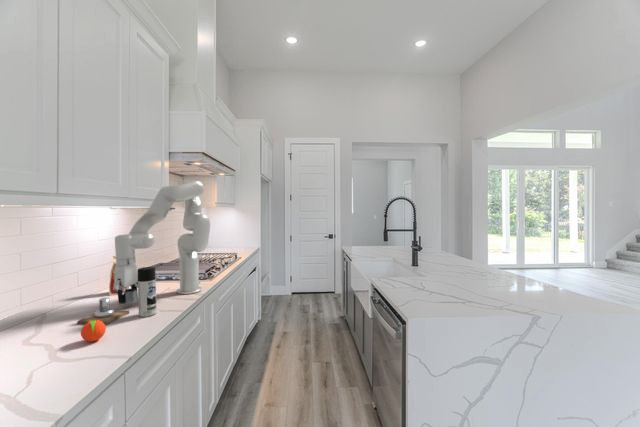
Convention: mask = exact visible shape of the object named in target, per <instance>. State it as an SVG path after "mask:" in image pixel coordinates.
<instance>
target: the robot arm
mask: <svg viewBox="0 0 640 427" xmlns="http://www.w3.org/2000/svg"><path fill="white" fill-rule="evenodd" d="M204 190H205V187H204V184H203V183H202V182H201V181H199V180H185V181H181V182H179V183H178V184H176V185H166V186H163V187H161V188H160V189H159V191H158V192H157V195H156V196H155V198H154V199H153V201H152V202H151V204H150V206H149V208H148V209H147V211H146V212H144V214H142V216H141V217H140V218H138V219H137V221H136V222H135V223H134V224H133V226H132V228H131V230H130V231H129V233H128V234H118V235H116V236H115V238H114V249H115V250H114V252H115V256H116V267H115V275H114V285H115V286H114V287H113V289H114V290H115V292H116V293H117V294H118V295H117V297H118V299H117V302H118V304H119V303H125V302H126V294H124V293H125V289H126V287H129V289H134V288H136V289H137V290H138V266H137V262H136V250H137V249H138V250H139V249H142V250H145V249H149V248H150V247H152V246H153V245H154V244H155V237H154V236H153V235H152V233H148V232H149V230H150V229H151V228H153V226H155V225H156V224H158V223H160V222H162V221H163V220H165V219H166V217H167V215H168V214H169V212H170V209H171V208H172V206H173V204H175V203H182V202H184V213H183V221H182V226H183V229H184V230H186V231H189V232H187V233H183V234H182V235H180V236H179V237H178V239H177V250H178V256H179V257H178V258H179V288H178V289H177V290H176V293H177V294H179V295H190V294H197V293H199V292H201V291H202V290H203V288H202V287H201V286H200V284H202V283H201V282H202V281H201V280H200V278H199V277H200V276H199V269H200V267H199V266H200V265H199V255H198V253H201V252H203V251H205V250H206V248H207V247H208V245H209V238H210V231H211V221H210V218H209V217H208V216H207V215H206V214H204V213H202V207H203V206H202V205H203V204H202V203H203V202H202V201H201V198H200V196H201V195H203V193H204ZM190 232H192V233H190ZM121 286H123V287H121ZM121 289H122V290H121Z"/></svg>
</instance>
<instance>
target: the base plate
mask: <svg viewBox="0 0 640 427" xmlns="http://www.w3.org/2000/svg"><path fill="white" fill-rule="evenodd" d="M129 314H130V310H122V309H121V310H118V309H117V310H115V309H114V315H113V316H110V317H106V318H95V313H93V314H90V315H88V316H86V317H84V318H81V319H79V320H77V322H76V323H77V325H85V324H86V323H88V322H90V321H93V320H99V321H101V322H103V323H104V325H105V326H107V325H109V324H110V323H113V322H114V321H116V320H119V319H121V318H122V317H124V316H127V315H129Z"/></svg>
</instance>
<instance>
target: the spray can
mask: <svg viewBox="0 0 640 427" xmlns="http://www.w3.org/2000/svg"><path fill="white" fill-rule="evenodd" d="M137 272H138V288H137V290H138V301H137V303H138V306H137V307H138V316H139V317H140V318H147V317H152V316H155V315H156V314H157V288H156V287H157V284H156V283H157V282H156V281H157V277H156V267H154V266H144V267H139V268H137Z"/></svg>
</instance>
